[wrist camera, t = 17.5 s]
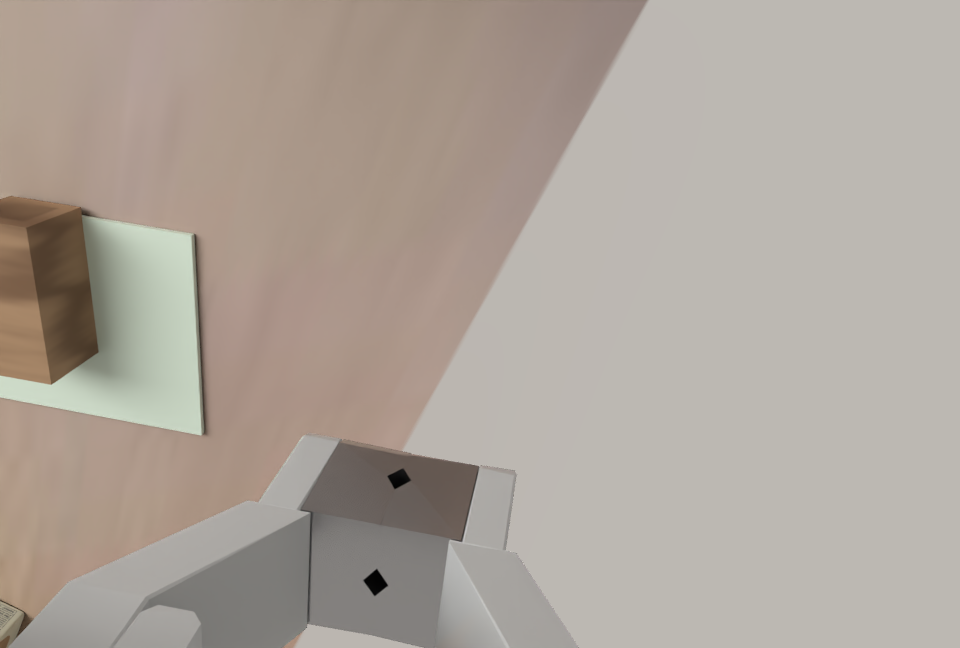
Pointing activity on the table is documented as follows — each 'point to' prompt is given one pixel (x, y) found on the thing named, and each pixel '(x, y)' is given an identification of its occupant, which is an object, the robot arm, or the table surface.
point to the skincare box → (9, 624)
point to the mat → (134, 332)
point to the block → (43, 291)
